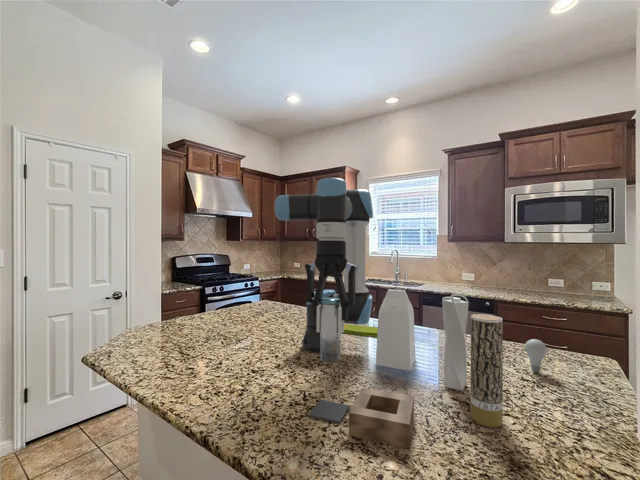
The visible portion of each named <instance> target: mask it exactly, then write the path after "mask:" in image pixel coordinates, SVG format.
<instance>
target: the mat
mask: <svg viewBox="0 0 640 480" xmlns="http://www.w3.org/2000/svg"><path fill="white" fill-rule="evenodd" d="M349 408H350V404H346V403H345V404H344V403H339V402H335V401H329V400H324V399H319V400H318V402H317V403H316V404H315V406H314V407H313V408H312V410H311V411H310V413H309V414H308V417H309V418H312V419H316V420H322V421H326V422H328V423H335V424H340V425H341V423H342V421H343V420H344V418H345V417H346V414H347V413H348V412H349V411H348V410H349Z"/></svg>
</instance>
